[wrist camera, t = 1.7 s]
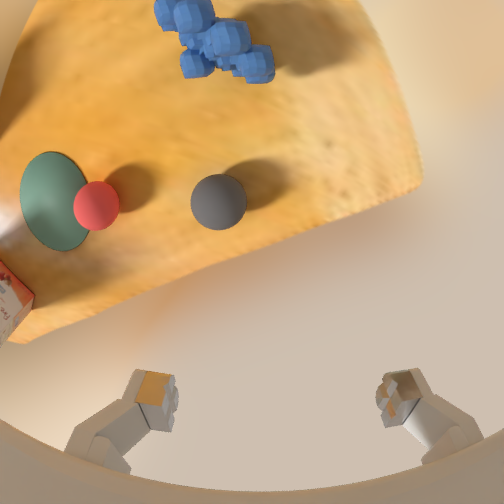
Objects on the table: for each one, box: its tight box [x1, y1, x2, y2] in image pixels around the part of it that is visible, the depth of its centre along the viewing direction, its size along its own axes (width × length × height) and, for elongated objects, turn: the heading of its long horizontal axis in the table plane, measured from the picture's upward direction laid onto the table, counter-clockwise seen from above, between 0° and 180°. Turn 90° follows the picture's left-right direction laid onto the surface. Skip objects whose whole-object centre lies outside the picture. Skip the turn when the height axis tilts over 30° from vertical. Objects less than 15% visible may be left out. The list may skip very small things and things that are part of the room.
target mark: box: [20, 152, 89, 251], centre depth 30 cm, size 14×14×1 cm
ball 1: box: [74, 181, 119, 231], centre depth 28 cm, size 6×6×6 cm
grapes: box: [154, 0, 275, 84], centre depth 18 cm, size 12×7×12 cm, turn 53°
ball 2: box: [191, 174, 247, 230], centre depth 27 cm, size 6×6×6 cm
